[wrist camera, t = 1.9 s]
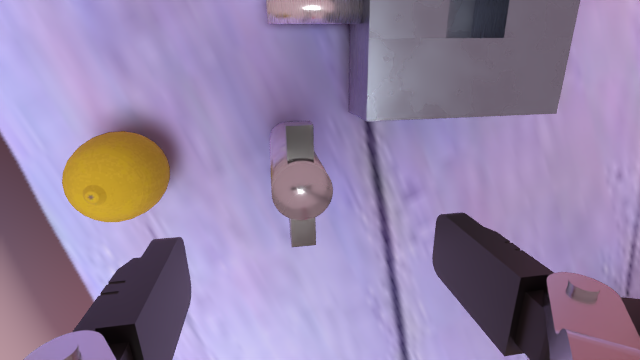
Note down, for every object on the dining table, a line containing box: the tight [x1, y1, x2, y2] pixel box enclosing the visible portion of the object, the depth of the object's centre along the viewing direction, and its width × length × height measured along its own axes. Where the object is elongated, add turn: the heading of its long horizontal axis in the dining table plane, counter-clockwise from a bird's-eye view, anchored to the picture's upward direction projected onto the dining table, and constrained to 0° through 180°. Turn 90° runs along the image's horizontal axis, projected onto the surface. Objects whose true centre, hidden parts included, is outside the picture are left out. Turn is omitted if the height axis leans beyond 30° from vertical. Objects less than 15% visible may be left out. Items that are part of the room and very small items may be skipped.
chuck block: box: [266, 0, 580, 121], centre depth 22 cm, size 20×14×5 cm
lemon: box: [62, 131, 170, 222], centre depth 21 cm, size 6×6×8 cm
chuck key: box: [270, 121, 333, 247], centre depth 21 cm, size 3×6×12 cm, turn 1°
